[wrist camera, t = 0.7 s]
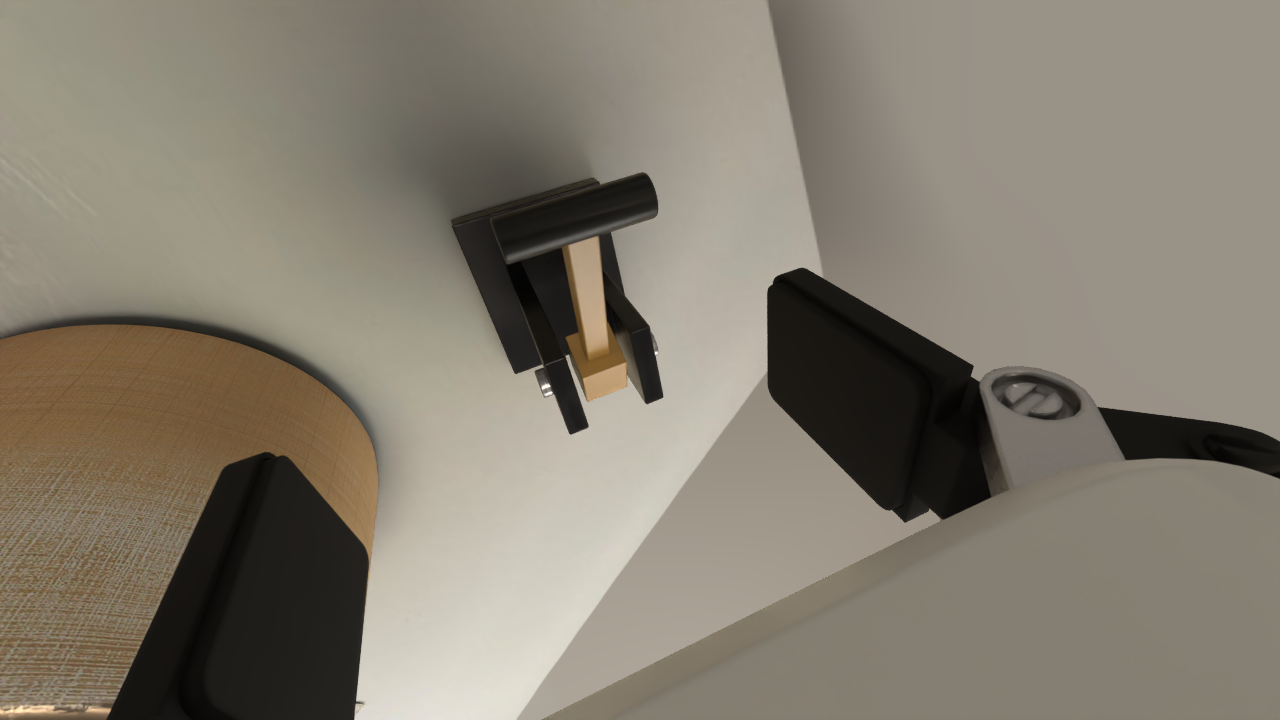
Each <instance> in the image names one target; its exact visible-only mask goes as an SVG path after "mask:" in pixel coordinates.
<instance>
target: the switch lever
mask: <svg viewBox="0 0 1280 720" xmlns="http://www.w3.org/2000/svg"><path fill="white" fill-rule="evenodd" d="M657 214H658V200H657V195H656V191H655V188H654V185H653V183H652V181H651V179H650V178H649V176H648V175H647V174H646V173H643V172H641V173H638V174H634V175H631V176H628V177H624V178H621V179H618V180H614V181H611V182H608V183H604V184H601V185H598V186H594V187H591V188H588V189H584V190H581V191H578V192H574V193H571V194H568V195H564V196H561V197H558V198H554V199H551V200H548V201H544V202H541V203H538V204H534V205H531V206H528V207H524V208H521V209H518V210H514V211H511V212H508V213H504V214H501V215H498V216H494V217H491V218H490V222H491V225H492V228H493V230H494V233H495V236H496V239H497V241H498V244H499V246H500V249H501V252H502V254H503V257H504V260H505V262H506V263H507V264H512V263H515V262H518V261H521V260H525V259H528V258H531V257H534V256H537V255H540V254H543V253H546V252H549V251H553V250H556V249H559V248H562V251H563V256H564V261H565V266H566V271H567V276H568V281H569V286H570V291H571V296H572V301H573V306H574V311H575V316H576V321H577V326H578V333H575V334H573V335H570V336H567V337H565V339H566V343H567V347H568V351H569V355H570V359H571V363H572V366H573V368H574V371H575V373H576V375H577V378H578V380H579V383H580V385H581V388H582V390H583V392H584V395H585V397H586V400H587V401H588V402H589V401H591V400H594V399H596V398H599V397H602V396H604V395H607V394H609V393H612V392H615V391H617V390H620V389H622V388H625V387H627V361H626V359H625V357H624V355H623V353H622V351H621V349H620V346H619V344H618V342H617V340H616V338H615V336H614V334H613V332H612V329H611V327H610V325H609V323H608V322H607V317H606V306H605V296H604V285H603V274H602V263H601V252H600V241H599V235H602V234H606V233H609V232H612V231H615V230H618V229H621V228H624V227H627V226H630V225H634V224H637V223H640V222H643V221H646V220H649V219H652V218H655V217H656V216H657Z"/></svg>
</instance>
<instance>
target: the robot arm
mask: <svg viewBox="0 0 1280 720" xmlns="http://www.w3.org/2000/svg"><path fill="white" fill-rule="evenodd" d="M767 334H768V389H769V392H770V394H771V396H772V398H773V399H774V400H775V402H777V404H778V405H779V406H780V407H781V408H782V409H783V410H784V411H785V412H786V413H787V414H788V415H789V416H790V417H791V418H792V419H793V420H795V422H796V423H797V424H798V425H799V426H800V427H801V428H802V429H803V430H804V431H805V432H806V433H807V434H808V435H809V436H810V437H811V438H812V439H813V440H814V441H815V442H816V443H817V444H818V445H819V446H820V447H821V448H822V449H823V450H824V451H825V452H826V453H827V454H828V455H829V456H830V457H831V458H832V459H833V460H834V461H835V462H836V463H837V464H838V465H839V466H840V467H841V468H842V469H843V470H844V471H845V472H846V473H847V474H848V475H849V476H850V477H851V478H852V479H853V480H854V481H855V482H856V483H857V484H858V485H859V486H860V487H861V488H862V489H863V490H864V491H865V492H866V493H867V494H868V495H869V496H870V497H871V498H872V499H873V500H874V501H875V502H876V503H877V504H878V505H879V506H881V507H882V508H883V509H885V510H889V511H890V510H893V511H894V512H895V513H896V514H897V515H898V516H899V517H900V518H901V519H902V520H903V521H904V522H907V521H910V520H912V519H914V518H916V517H918V516H920V515H922V514H924V513H926V512H928V511H929V508H930V509H931V510H932V511H933V512H934V513H936V514H937V515H938V516H939V517H940V522H938V523H936V524H934V525H932V526H930V527H928V528H926V529H924V530H921V531H919V532H917V533H915V534H913V535H911V536H909V537H907V538H905V539H903V540H901V541H899V542H897V543H895V544H893V545H891V546H889V547H887V548H885V549H883V550H881V551H879V552H877V553H875V554H873V555H871V556H868V557H867V558H864V559H863V560H860V561H858V562H856V563H854V564H852V565H850V566H848V567H846V568H844V569H842V570H840V571H838V572H836V573H834V574H832V575H830V576H828V577H826V578H824V579H822V580H820V581H818V582H816V583H814V584H812V585H810V586H808V587H806V588H804V589H802V590H800V591H798V592H796V593H794V594H792V595H790V596H788V597H786V598H784V599H782V600H779V601H778V602H776V603H773V604H771V605H769V606H767V607H765V608H763V609H762V610H760V611H757V612H755V613H753V614H751V615H749V616H747V617H745V618H743V619H741V620H739V621H737V622H735V623H734V624H732V625H729V626H727V627H726V628H724V629H722V630H719V631H717V632H715V633H713V634H711V635H709V636H708V637H706V638H703V639H702V640H699V641H697V642H695V643H693V644H692V645H689V646H687V647H685V648H684V649H681V650H679V651H678V652H675V653H673V654H671V655H670V656H668V657H666V658H664V659H662V660H660V661H658V662H656V663H654V664H652V665H650V666H648V667H646V668H644V669H642V670H640V671H638V672H636V673H634V674H632V675H630V676H628V677H626V678H624V679H622V680H620V681H618V682H616V683H614V684H612V685H610V686H608V687H606V688H604V689H602V690H600V691H598V692H596V693H594V694H592V695H590V696H588V697H586V698H584V699H582V700H580V701H578V702H576V703H574V704H572V705H570V706H568V707H566V708H564V709H562V710H560V711H558V712H556V713H554V714H552V715H550V716H548V717H547V718H544V719H542V720H1280V441H1278V440H1276V439H1274V438H1272V437H1270V436H1268V435H1266V434H1264V433H1261V432H1258V431H1255V430H1251V429H1247V428H1243V427H1239V426H1234V425H1229V424H1224V423H1218V422H1210V421H1203V420H1195V419H1187V418H1179V417H1172V416H1164V415H1156V414H1148V413H1140V412H1132V411H1124V410H1116V409H1109V408H1100V407H1097V406H1096V404H1095V402H1094V400H1093V399H1092V398H1091V396H1090V395H1089V394H1088V393H1087V392H1086V390H1085V389H1083V388H1082V387H1080V386H1079V385H1078V384H1076V383H1075V382H1073V381H1072V380H1070V379H1067V378H1065V377H1063V376H1061V375H1059V374H1056V373H1053V372H1049V371H1046V370H1042V369H1038V368H1031V367H1024V366H1015V367H1003V368H999V369H994V370H992V371H991V372H989V373H987V374H985V375H984V377H983V378H982V380H981V381H980V382H979V381H977V380H976V379H974V378H972V377H971V373H972V370H973V367H974V366H973V365H971V364H970V363H968V362H966V361H965V360H963V359H961V358H959V357H958V356H956V355H954V354H953V353H951V352H949V351H947V350H946V349H944V348H942V347H940V346H939V345H937V344H935V343H934V342H932V341H930V340H928V339H927V338H925V337H923V336H921V335H920V334H918V333H916V332H915V331H913V330H911V329H909V328H908V327H906V326H904V325H902V324H900V323H899V322H897V321H896V320H894V319H892V318H890V317H889V316H887V315H885V314H883V313H882V312H880V311H878V310H876V309H875V308H873V307H871V306H870V305H868V304H866V303H864V302H863V301H861V300H859V299H858V298H856V297H854V296H852V295H850V294H849V293H847V292H845V291H844V290H842V289H840V288H839V287H837V286H835V285H833V284H832V283H830V282H828V281H827V280H825V279H823V278H821V277H820V276H818V275H816V274H814V273H813V272H811V271H809V270H808V269H805V268H799V269H796V270H793V271H790V272H787V273H784V274H781V275H778V276H777V277H775V279H774V281H773V285H771V286H770V287H769V288H768V292H767ZM368 571H369V557H368V553H367V550H366V548H365V546H364V545H363V543H362V542H361V541H360V540H359V539H358V537H357V536H356V535H355V534H354V533H353V532H352V530H351V529H350V528H349V527H348V526H347V525H346V523H345V522H344V521H343V520H342V519H341V518H340V516H339V515H338V514H337V513H336V512H335V511H334V509H333V508H332V507H331V506H330V505H329V504H328V502H327V501H326V500H325V499H324V498H323V497H322V495H321V494H320V493H319V492H318V491H317V490H316V488H315V487H314V486H313V485H312V484H311V483H310V481H309V480H308V479H307V478H306V477H305V476H304V474H303V473H302V472H301V471H300V470H299V469H298V467H297V466H296V465H295V464H294V463H293V462H292V460H291V459H289V458H288V457H287V456H285V455H280V456H278V457H277V456H275V455H274V454H272V453H270V452H263V453H260V454H257V455H254V456H251V457H248V458H245V459H242V460H240V461H237V462H234V463H231V464H228V465H227V466H225V467H224V468H223V470H222V471H221V473H220V475H219V478H218V480H217V482H216V484H215V486H214V488H213V490H212V493H211V495H210V497H209V499H208V501H207V503H206V506H205V508H204V510H203V512H202V514H201V516H200V519H199V521H198V523H197V525H196V527H195V529H194V531H193V534H192V536H191V538H190V540H189V542H188V544H187V547H186V549H185V551H184V553H183V555H182V557H181V560H180V562H179V564H178V566H177V568H176V570H175V572H174V575H173V577H172V579H171V581H170V583H169V585H168V588H167V590H166V592H165V594H164V596H163V598H162V601H161V603H160V605H159V607H158V609H157V611H156V613H155V616H154V618H153V620H152V622H151V624H150V626H149V629H148V631H147V633H146V635H145V637H144V639H143V642H142V644H141V646H140V648H139V650H138V652H137V654H136V657H135V659H134V661H133V663H132V665H131V667H130V670H129V672H128V674H127V676H126V678H125V680H124V682H123V685H122V687H121V689H120V691H119V693H118V695H117V698H116V700H115V702H114V704H113V706H112V708H111V711H110V713H109V715H108V717H107V719H106V720H354V716H355V706H356V696H357V685H358V675H359V664H360V654H361V644H362V633H363V623H364V612H365V602H366V592H367V581H368Z"/></svg>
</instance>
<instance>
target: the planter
mask: <svg viewBox="0 0 1280 720" xmlns="http://www.w3.org/2000/svg"><path fill="white" fill-rule="evenodd" d="M263 452H270V453H272V454H274V455H275V456H277V457H278V456H280V455H285V456H287V457H288V458H289V459H291V460H292V462H293V463H294V464H295V465H296V466H297V467H298V469H299V470H300V471H301V472H302V473H303V474H304V476H305V477H306V478H307V479H308V480H309V481H310V483H311V484H312V485H313V486H314V487H315V488H316V490H317V491H318V492H319V493H320V494H321V495H322V497H323V498H324V499H325V500H326V501H327V502H328V504H329V505H330V506H331V507H332V508H333V509H334V511H335V512H336V513H337V514H338V515H339V516H340V518H341V519H342V520H343V521H344V522H345V523H346V525H347V526H348V527H349V528H350V529H351V530H352V532H353V533H354V534H355V535H356V536H357V537H358V539H359V540H360V541H361V542H362V543H363V545H364V546H365V548H366V550H367V553H368V557H369V571H370V563H371V554H372V546H373V537H374V528H375V520H376V510H377V501H378V469H377V462H376V456H375V452H374V449H373V445H372V443H371V440H370V438H369V436H368V434H367V432H366V431H365V429H364V427H363V426H362V424H361V422H360V421H359V420H358V418H357V417H356V415H355V414H354V413H353V412H352V411H351V409H350V408H349V407H348V406H347V405H346V404H345V403H344V402H343V401H342V400H341V399H340V398H339V397H338V396H336V395H335V394H334V393H333V392H332V391H331V390H329V389H328V388H327V387H326V386H324V385H323V384H322V383H320V382H319V381H317V380H316V379H314V378H313V377H311V376H310V375H308V374H307V373H305V372H303V371H302V370H300V369H298V368H296V367H295V366H293V365H291V364H289V363H287V362H285V361H283V360H280V359H278V358H276V357H274V356H271V355H269V354H267V353H264V352H262V351H259V350H257V349H254V348H251V347H248V346H246V345H243V344H239V343H236V342H233V341H229V340H226V339H222V338H218V337H214V336H209V335H205V334H200V333H195V332H190V331H184V330H178V329H171V328H163V327H154V326H140V325H82V326H69V327H60V328H52V329H46V330H40V331H34V332H29V333H24V334H20V335H16V336H12V337H8V338H4V339H0V720H106V719H107V717H108V715H109V713H110V711H111V708H112V706H113V704H114V702H115V700H116V698H117V695H118V693H119V691H120V689H121V687H122V685H123V682H124V680H125V678H126V676H127V674H128V672H129V670H130V667H131V665H132V663H133V661H134V659H135V657H136V654H137V652H138V650H139V648H140V646H141V644H142V642H143V639H144V637H145V635H146V633H147V631H148V629H149V626H150V624H151V622H152V620H153V618H154V616H155V613H156V611H157V609H158V607H159V605H160V603H161V601H162V598H163V596H164V594H165V592H166V590H167V588H168V585H169V583H170V581H171V579H172V577H173V575H174V572H175V570H176V568H177V566H178V564H179V562H180V560H181V557H182V555H183V553H184V551H185V549H186V547H187V544H188V542H189V540H190V538H191V536H192V534H193V531H194V529H195V527H196V525H197V523H198V521H199V519H200V516H201V514H202V512H203V510H204V508H205V506H206V503H207V501H208V499H209V497H210V495H211V493H212V490H213V488H214V486H215V484H216V482H217V480H218V478H219V475H220V473H221V471H222V470H223V468H224V467H225V466H227V465H228V464H231V463H234V462H237V461H240V460H242V459H245V458H248V457H251V456H254V455H257V454H260V453H263ZM369 571H368V580H369ZM367 588H368V581H367ZM366 596H367V592H366ZM365 605H366V602H365ZM364 614H365V612H364Z"/></svg>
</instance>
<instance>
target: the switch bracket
mask: <svg viewBox="0 0 1280 720" xmlns="http://www.w3.org/2000/svg"><path fill="white" fill-rule="evenodd" d="M598 185H600V183H599V181H597V180H596V179H595V178H591V179H588V180H585V181H581V182H578V183H575V184H571V185H568V186H564V187H561V188H558V189H554V190H551V191H548V192H544V193H541V194H537V195H534V196H531V197H527V198H524V199H520V200H517V201H514V202H510V203H507V204H504V205H500V206H497V207H493V208H490V209H487V210H483V211H480V212H477V213H473V214H470V215H466V216H463V217H460V218H456V219H453V220H451V223H452V228H453V230H454V232H455V235H456V237H457V239H458V242H459V244H460V246H461V249H462V251H463V253H464V256H465V258H466V261H467V263H468V265H469V268H470V270H471V272H472V275H473V277H474V279H475V282H476V284H477V286H478V289H479V291H480V293H481V296H482V298H483V300H484V303H485V305H486V307H487V310H488V312H489V314H490V317H491V319H492V322H493V324H494V326H495V329H496V331H497V333H498V336H499V338H500V340H501V343H502V345H503V347H504V350H505V352H506V354H507V357H508V359H509V361H510V364H511V366H512V368H513V371H514V373H515V374H517V373H520V372H523V371H525V370H528V369H531V368H534V367H536V366H539V365H542V364H543V367H544V368H541V369H538V370H535V375H536V378H537V380H538V383H539V386H540V388H541V391H542V393H543V396H544V397H545V398H546V397H549V396H551V395H553V394H554V395H555V398H556V401H557V403H558V406H559V408H560V411H561V413H562V416H563V419H564V421H565V424H566V426H567V429H568V432H569V434H574V433H577V432H579V431H582V430H584V429H587V428H588V427H589V425H588V422H587V419H586V416H585V413H584V410H583V407H582V404H581V401H580V399H579V396H578V393H577V390H576V387H575V384H574V381H573V378H572V375H571V372H570V369H569V366H568V363H567V360H566V357H565V356H566V355H569V351H568V347H567V343H566V339H565V337H567V336H570V335H573V334H575V333H578V326H577V321H576V316H575V311H574V306H573V301H572V296H571V291H570V286H569V281H568V276H567V271H566V266H565V261H564V256H563V251H562V248H559V249H556V250H553V251H549V252H546V253H543V254H540V255H537V256H534V257H531V258H528V259H525V260H521V261H518V262H515V263H512V264H507V263H506V262H505V260H504V257H503V254H502V252H501V249H500V246H499V244H498V241H497V239H496V236H495V233H494V230H493V228H492V225H491V222H490V218H491V217H494V216H498V215H501V214H504V213H508V212H511V211H514V210H518V209H521V208H524V207H528V206H531V205H534V204H538V203H541V202H544V201H548V200H551V199H554V198H558V197H561V196H564V195H568V194H571V193H574V192H578V191H581V190H584V189H588V188H591V187H594V186H598ZM599 241H600V252H601V263H602V274H603V285H604V296H605V306H606V317H607V322H608V323H609V325H610V327H611V329H612V332H613V334H614V336H615V338H616V340H617V342H618V344H619V346H620V349H621V351H622V353H623V355H624V357H625V359H626V361H627V375H628V377H629V378H630V380H631V381H632V383H633V384H634V386H635V388H636V389H637V391H638V392H639V394H640V396H641V397H642V399H643V400H644V402H645V403H646V404H649V403H652V402H654V401H657V400H659V399H662V398H663V391H662V386H661V381H660V376H659V371H658V366H657V361H656V356H657V355H658V347H657V343H656V340H655V338H654V336H653V334H652V332H651V331H650V326H649V325H648V324H647V322H646V321H645V320H644V319H643V317H642V316H641V315H640V314H639V313H638V311H637V310H636V309H635V308H634V306H633V305H632V304H631V303H630V302H629V300H628V299H627V298H626V297H625V294H624V289H623V285H622V280H621V276H620V271H619V267H618V262H617V258H616V254H615V249H614V245H613V240H612V236H611V232H609V233H606V234H602V235H599Z"/></svg>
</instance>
